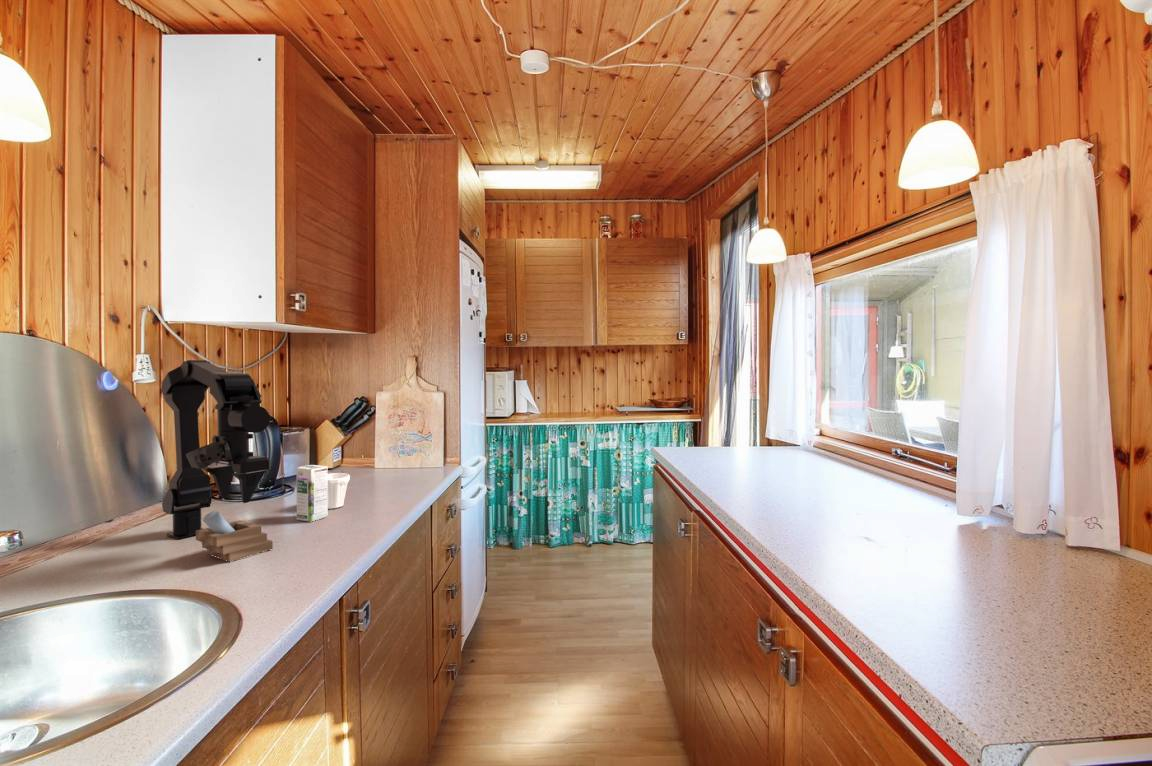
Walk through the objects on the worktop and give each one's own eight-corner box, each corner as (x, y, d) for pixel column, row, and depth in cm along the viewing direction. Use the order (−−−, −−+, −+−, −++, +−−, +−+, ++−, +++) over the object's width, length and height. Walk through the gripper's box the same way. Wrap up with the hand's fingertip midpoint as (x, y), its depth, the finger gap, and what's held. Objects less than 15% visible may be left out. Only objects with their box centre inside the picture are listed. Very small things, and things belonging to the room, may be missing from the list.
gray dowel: (229, 550, 114) (200, 519, 109) (241, 539, 116) (213, 509, 111) (235, 553, 113) (206, 522, 108) (247, 542, 115) (220, 512, 110)
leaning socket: (196, 558, 111) (195, 530, 111) (251, 542, 121) (250, 517, 121) (217, 566, 107) (216, 537, 107) (272, 549, 117) (272, 523, 117)
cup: (340, 511, 148) (340, 480, 148) (306, 511, 148) (306, 479, 148) (356, 502, 158) (355, 473, 158) (323, 502, 158) (323, 473, 158)
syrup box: (295, 520, 140) (294, 467, 139) (314, 514, 145) (313, 463, 145) (310, 522, 138) (310, 468, 137) (329, 516, 143) (328, 465, 143)
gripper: (170, 431, 111) (172, 503, 111) (214, 436, 102) (215, 514, 102) (226, 426, 121) (227, 492, 121) (271, 431, 111) (272, 502, 112)
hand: (234, 500), depth 114 cm, fingers open, 9 cm apart
